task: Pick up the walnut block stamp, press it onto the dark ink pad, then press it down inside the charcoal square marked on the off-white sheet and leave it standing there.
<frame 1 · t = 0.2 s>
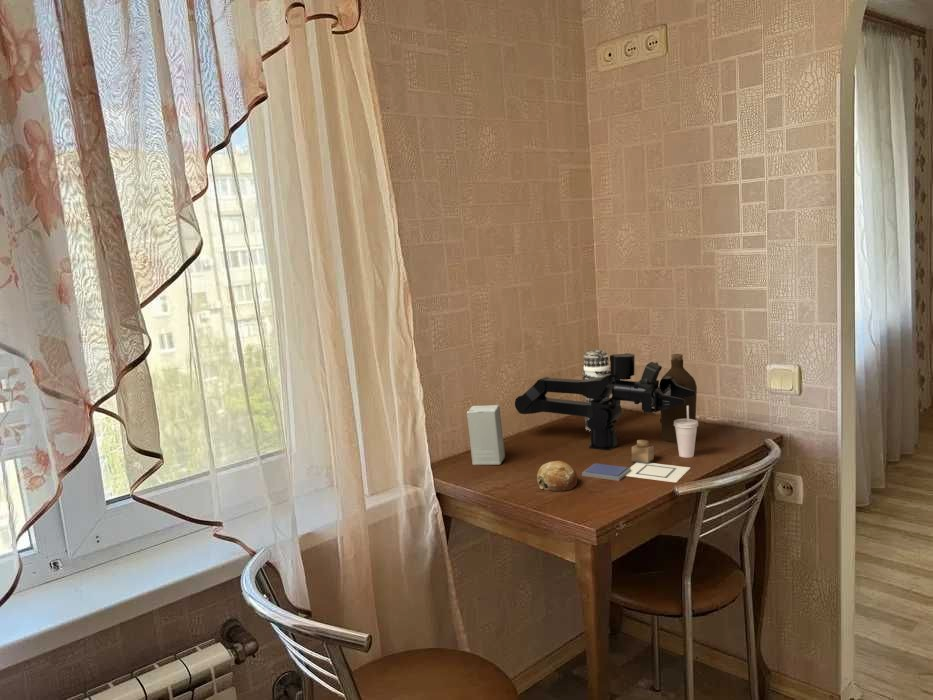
hand: (690, 397, 192), 16 cm above the table, tool horizontal, fingers open, 9 cm apart
ink pad: (606, 474, 185), on the table
olive oil: (678, 438, 212), on the table
skincare box: (487, 462, 201), on the table
decorative candle: (598, 429, 228), on the table
bread roll: (557, 485, 179), on the table
smoothie: (686, 456, 195), on the table
sheet: (656, 472, 184), on the table
stamp: (642, 461, 193), on the table, tilted 6°, touching sheet
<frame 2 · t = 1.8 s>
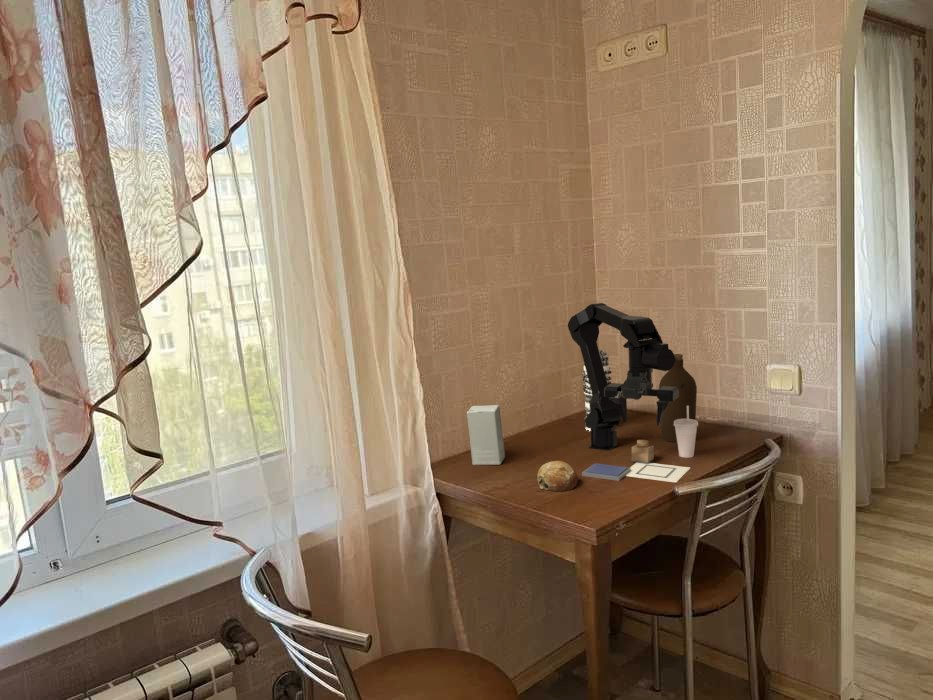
hand: (641, 423, 191), 10 cm above the table, tool pointing down, fingers open, 9 cm apart
nothing on the table moved.
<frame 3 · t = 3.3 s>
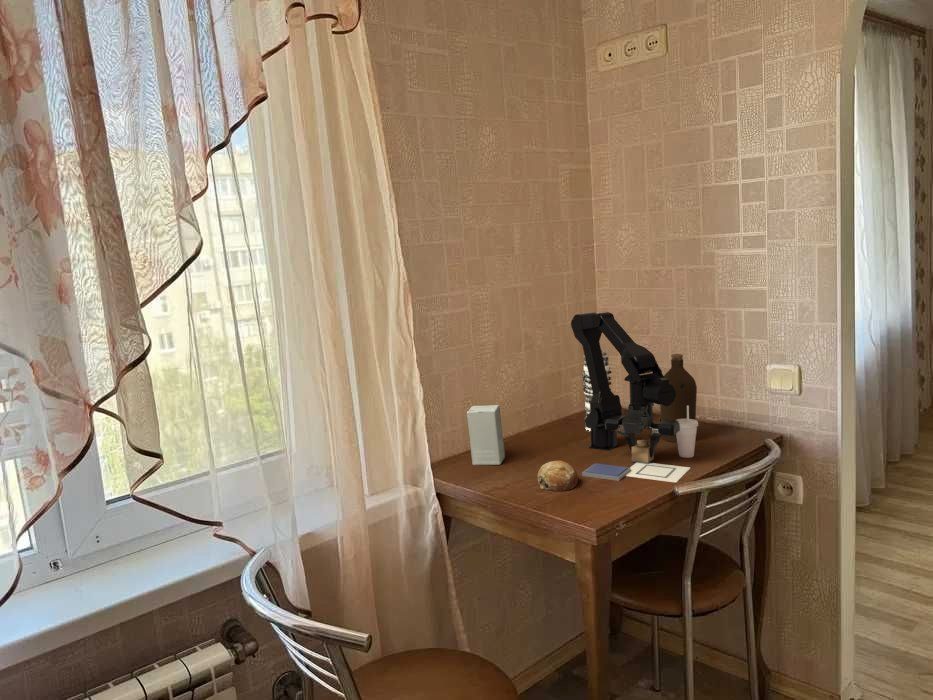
hand: (642, 456, 192), 2 cm above the table, tool pointing down, fingers closed on stamp, 4 cm apart
stamp: (642, 461, 193), on the table, tilted 6°, touching gripper, sheet
everything else where it was.
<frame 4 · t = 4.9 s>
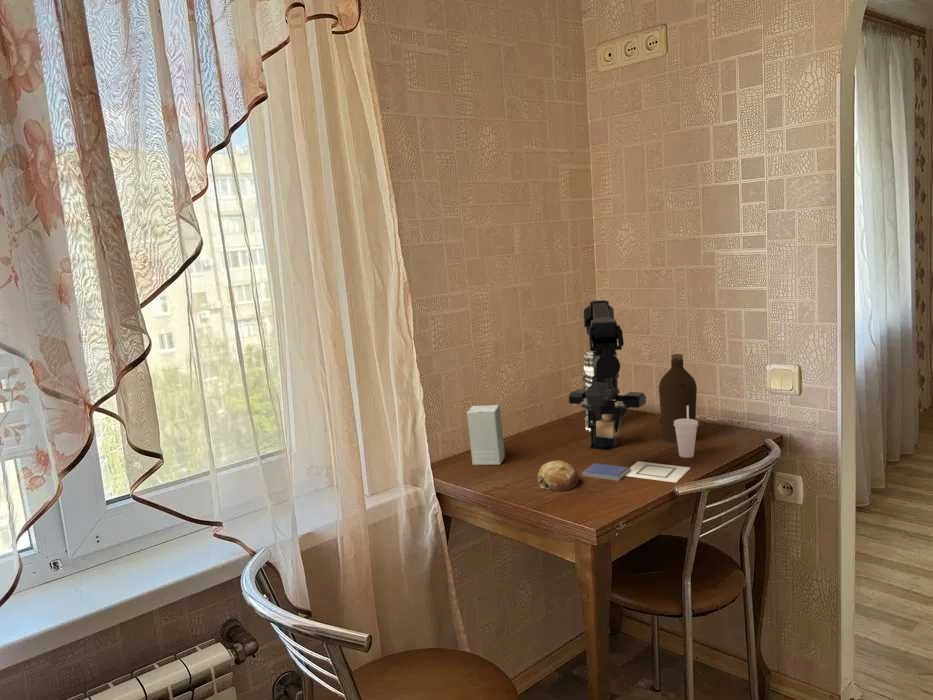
hand: (607, 431, 183), 11 cm above the table, tool pointing down, fingers closed on stamp, 4 cm apart
stamp: (607, 436, 183), point 10 cm above the table, tilted 6°, touching gripper
everything else where it was.
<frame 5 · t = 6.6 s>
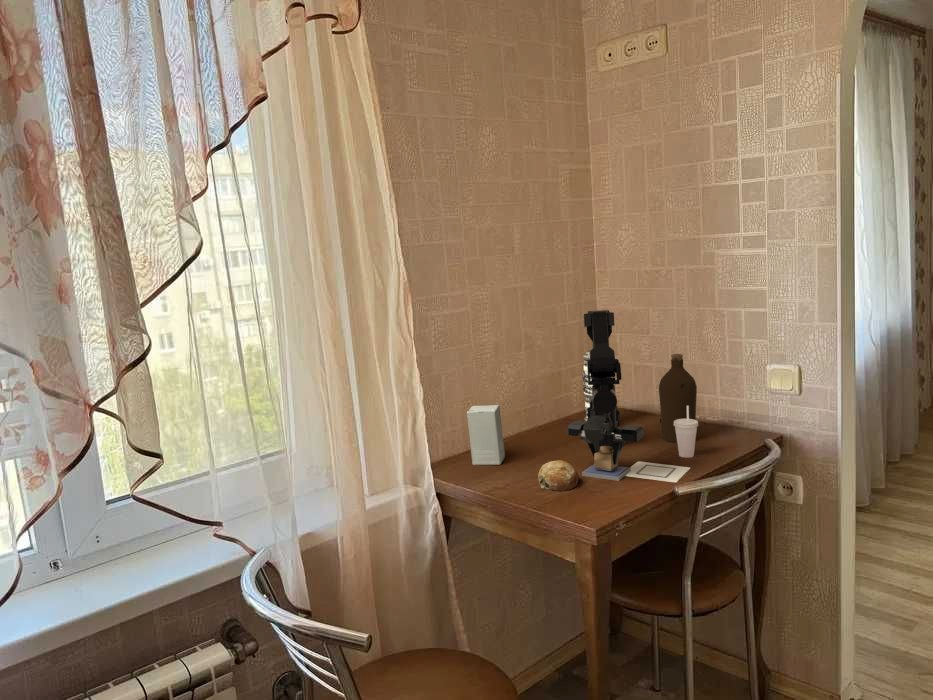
hand: (606, 463, 184), 3 cm above the table, tool pointing down, fingers closed on stamp, 4 cm apart
stamp: (606, 468, 184), point 2 cm above the table, tilted 5°, touching gripper
everything else where it was.
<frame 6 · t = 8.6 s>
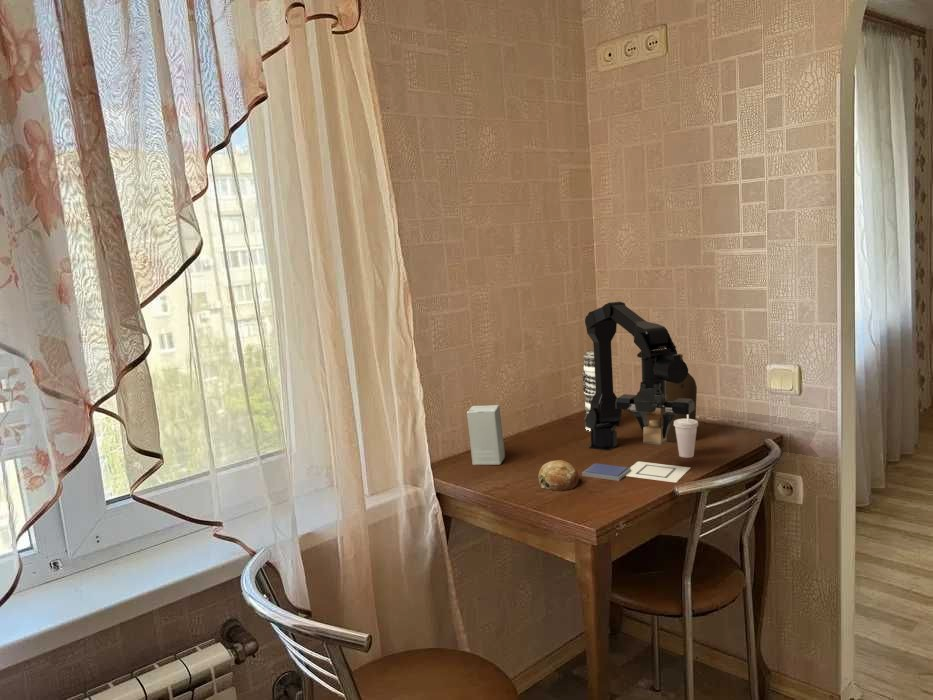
hand: (655, 437, 182), 9 cm above the table, tool pointing down, fingers closed on stamp, 4 cm apart
stamp: (654, 442, 182), point 8 cm above the table, tilted 5°, touching gripper
everything else where it was.
when the fingers open (2 cm above the table, at t = 10.1 s): stamp stays where it is, resting on sheet.
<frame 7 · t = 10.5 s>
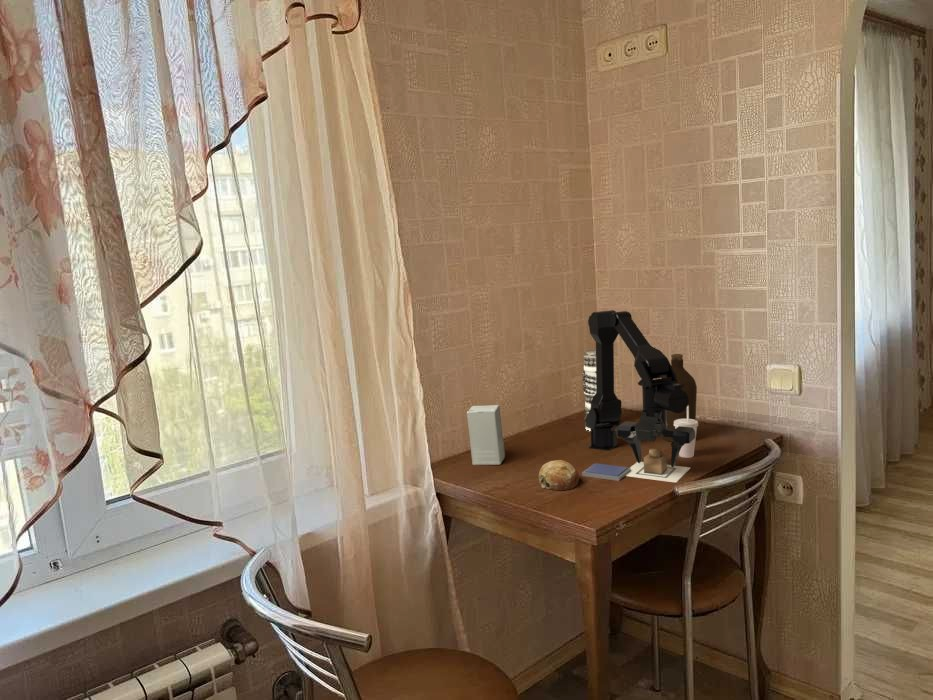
hand: (655, 464, 183), 2 cm above the table, tool pointing down, fingers open, 8 cm apart
stamp: (655, 471, 183), resting on sheet
everything else where it was.
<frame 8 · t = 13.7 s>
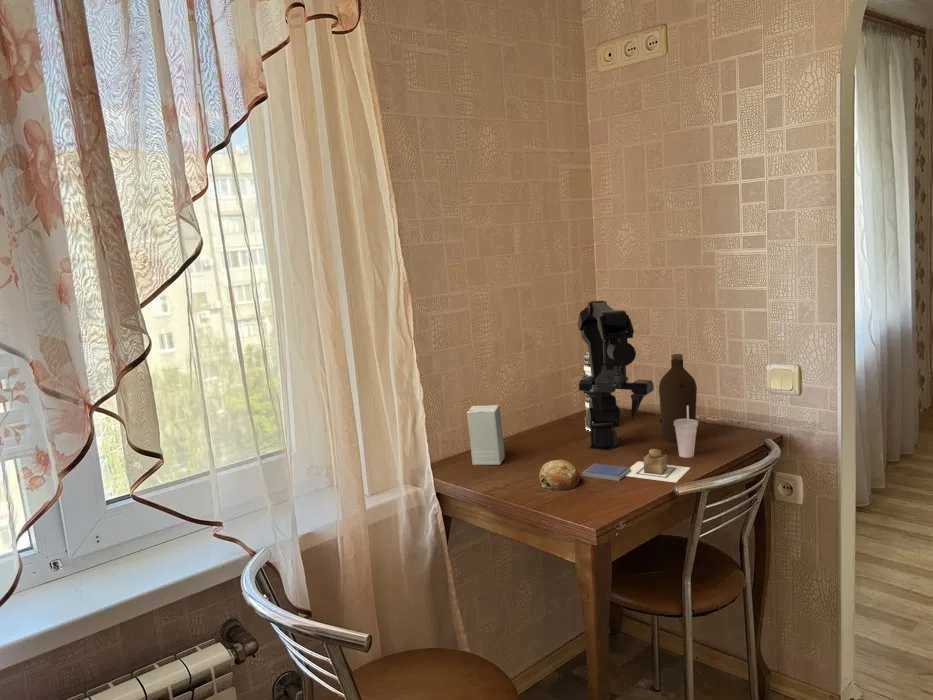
hand: (616, 417, 189), 13 cm above the table, tool pointing down, fingers open, 9 cm apart
at the end: stamp 0.2 cm off-centre on the sheet, point 0.3 cm above the sheet's base; stamp tilted 0°; the gripper is holding nothing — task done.
